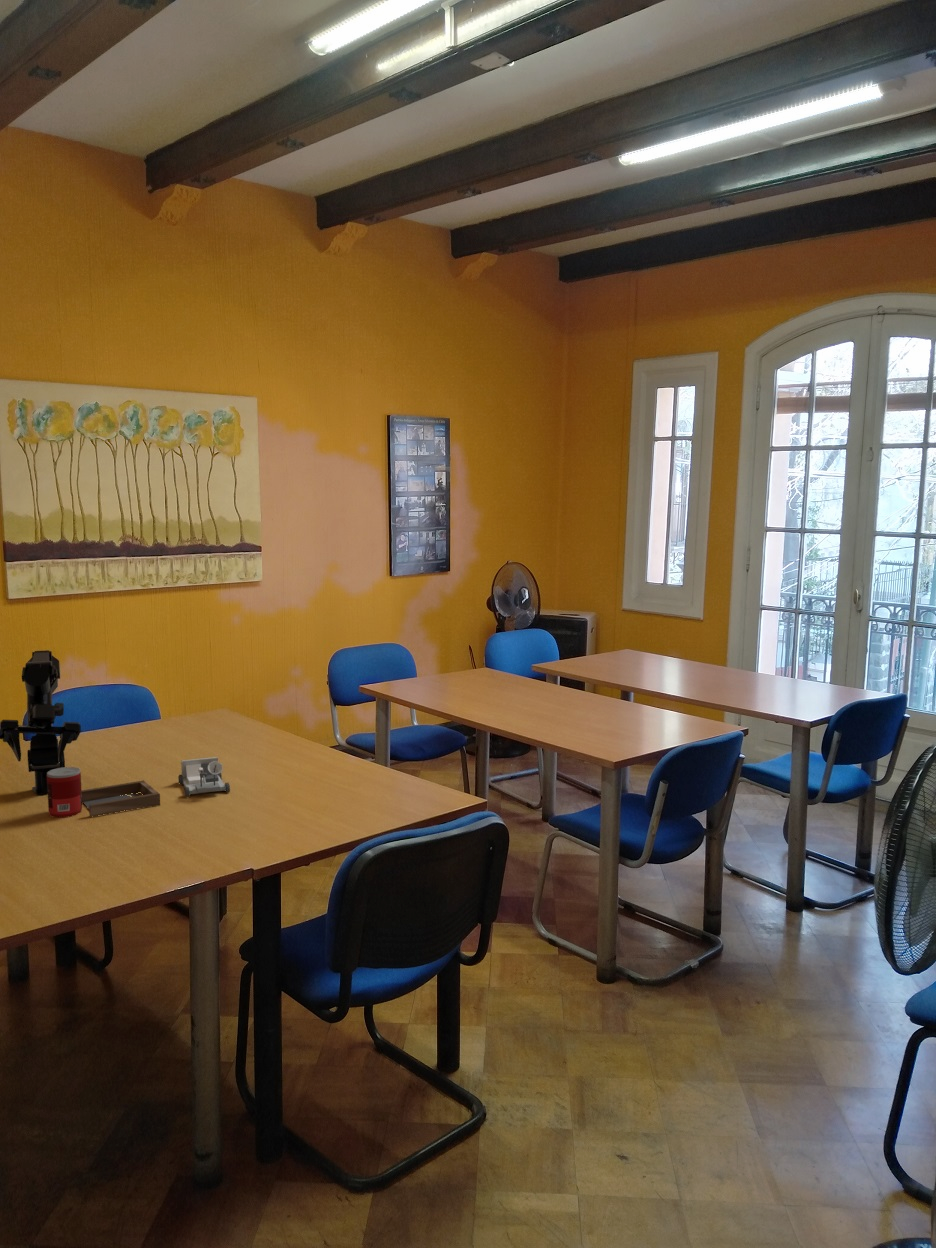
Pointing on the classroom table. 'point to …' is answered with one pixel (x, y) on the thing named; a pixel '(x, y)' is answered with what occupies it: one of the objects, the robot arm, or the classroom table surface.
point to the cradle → (145, 800)
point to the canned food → (64, 791)
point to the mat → (109, 799)
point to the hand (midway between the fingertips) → (39, 761)
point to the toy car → (202, 776)
